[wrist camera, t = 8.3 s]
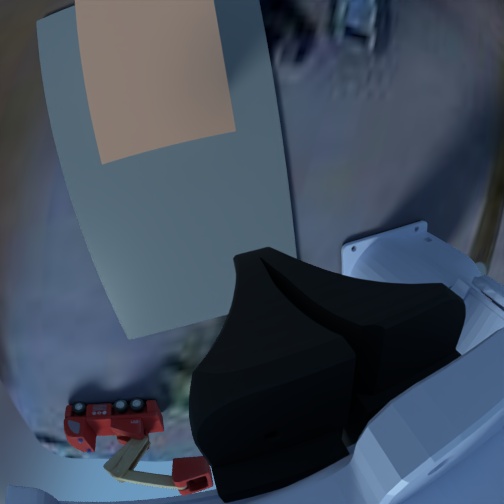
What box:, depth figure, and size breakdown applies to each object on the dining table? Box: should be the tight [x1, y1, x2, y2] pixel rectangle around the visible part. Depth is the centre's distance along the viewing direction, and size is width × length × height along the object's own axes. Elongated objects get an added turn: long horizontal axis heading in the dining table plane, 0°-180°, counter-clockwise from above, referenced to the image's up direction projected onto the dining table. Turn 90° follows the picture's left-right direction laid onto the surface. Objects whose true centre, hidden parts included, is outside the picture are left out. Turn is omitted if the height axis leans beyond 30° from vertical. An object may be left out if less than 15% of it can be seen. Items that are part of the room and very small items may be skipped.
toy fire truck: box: [64, 398, 213, 495], centre depth 22 cm, size 3×14×10 cm, turn 91°
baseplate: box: [36, 0, 297, 340], centre depth 18 cm, size 14×24×1 cm, turn 9°
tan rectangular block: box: [75, 0, 236, 165], centre depth 10 cm, size 4×8×4 cm, turn 9°
